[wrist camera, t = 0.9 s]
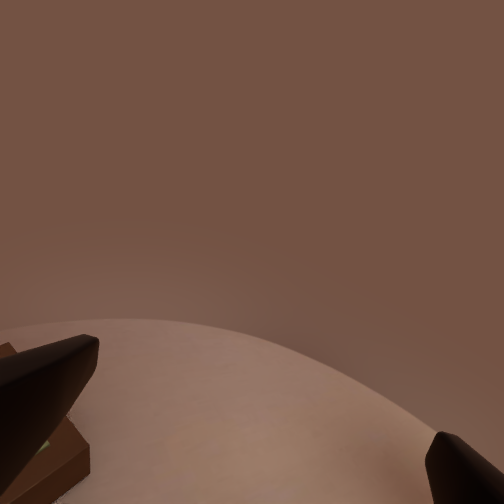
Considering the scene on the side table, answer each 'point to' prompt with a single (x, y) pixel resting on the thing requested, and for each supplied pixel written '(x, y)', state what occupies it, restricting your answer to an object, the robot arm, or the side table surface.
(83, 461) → the square wooden coaster
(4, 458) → the robot arm
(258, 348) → the side table surface
